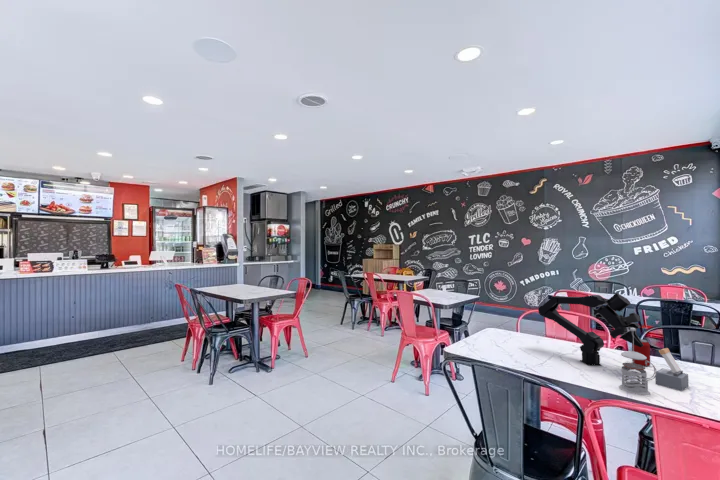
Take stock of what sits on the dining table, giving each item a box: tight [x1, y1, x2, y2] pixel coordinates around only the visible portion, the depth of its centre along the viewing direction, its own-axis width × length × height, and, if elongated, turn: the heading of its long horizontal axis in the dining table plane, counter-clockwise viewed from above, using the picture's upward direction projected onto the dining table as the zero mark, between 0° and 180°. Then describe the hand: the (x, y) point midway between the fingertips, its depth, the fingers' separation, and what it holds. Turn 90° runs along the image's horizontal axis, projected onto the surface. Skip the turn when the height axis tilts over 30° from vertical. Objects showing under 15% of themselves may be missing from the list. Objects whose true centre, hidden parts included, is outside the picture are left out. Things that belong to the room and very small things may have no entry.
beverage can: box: [631, 338, 651, 367], centre depth 159 cm, size 7×7×12 cm
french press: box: [618, 328, 657, 396], centre depth 129 cm, size 10×12×25 cm
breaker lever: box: [658, 347, 683, 374], centre depth 134 cm, size 2×5×10 cm, turn 123°
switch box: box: [654, 367, 690, 392], centre depth 134 cm, size 8×9×6 cm
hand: (642, 346), depth 143 cm, fingers closed
